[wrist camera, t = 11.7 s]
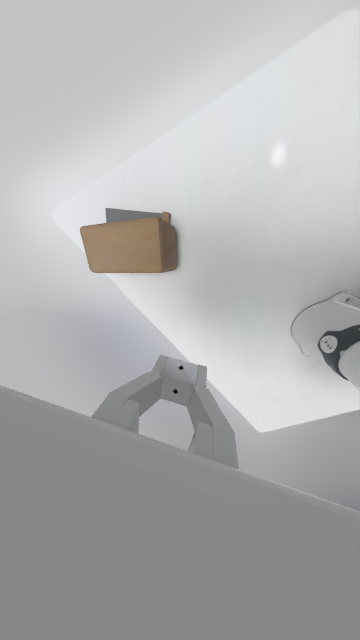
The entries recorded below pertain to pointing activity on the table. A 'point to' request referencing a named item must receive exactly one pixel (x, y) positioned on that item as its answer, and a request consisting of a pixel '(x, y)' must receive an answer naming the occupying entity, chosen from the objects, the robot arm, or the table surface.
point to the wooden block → (130, 246)
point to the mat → (133, 215)
